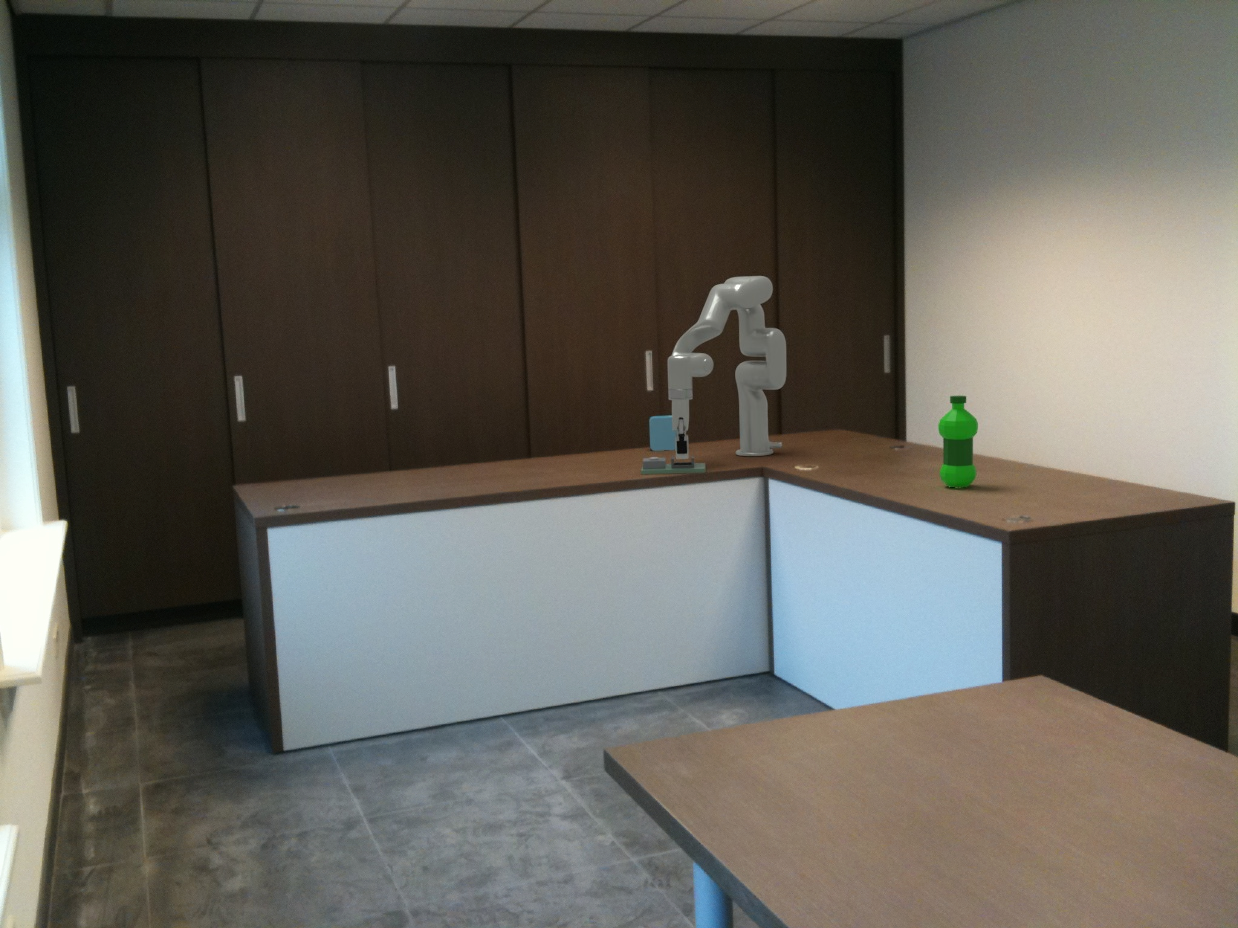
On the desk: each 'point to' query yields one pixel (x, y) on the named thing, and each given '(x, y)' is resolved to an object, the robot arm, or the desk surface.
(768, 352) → the robot arm
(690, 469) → the board
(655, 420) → the blue rounded square block
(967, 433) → the plastic bottle
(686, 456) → the plug
